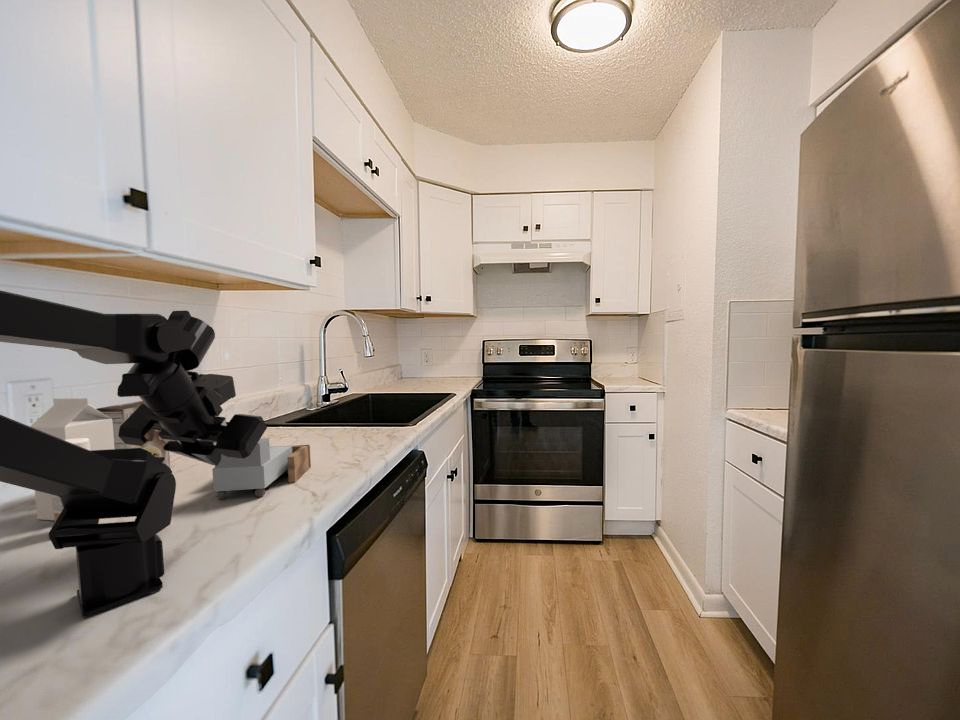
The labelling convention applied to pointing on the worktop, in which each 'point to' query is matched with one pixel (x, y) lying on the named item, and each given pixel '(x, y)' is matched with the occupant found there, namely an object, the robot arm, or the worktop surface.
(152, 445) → the coffee box
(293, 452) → the bay
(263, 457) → the trolley
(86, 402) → the milk carton
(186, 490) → the worktop surface
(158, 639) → the worktop surface
